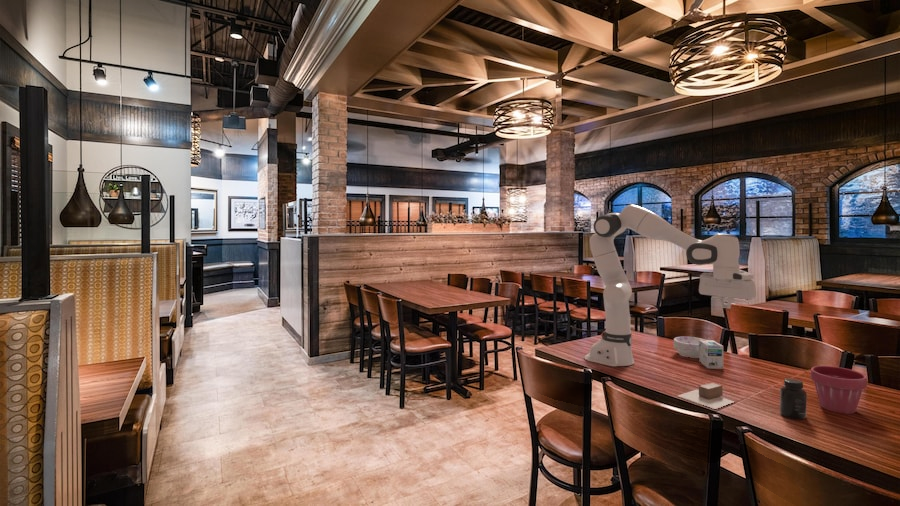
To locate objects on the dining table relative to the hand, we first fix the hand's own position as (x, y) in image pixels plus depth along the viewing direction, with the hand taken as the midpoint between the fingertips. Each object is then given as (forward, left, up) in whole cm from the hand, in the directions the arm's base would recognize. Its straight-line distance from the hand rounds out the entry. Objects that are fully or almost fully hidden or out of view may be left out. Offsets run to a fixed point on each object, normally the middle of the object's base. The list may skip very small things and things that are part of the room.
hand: (725, 308), depth 168 cm
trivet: (-4, -22, -31) cm, 38 cm away
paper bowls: (-18, +36, -31) cm, 51 cm away
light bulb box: (-8, +24, -31) cm, 40 cm away
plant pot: (+33, -5, -31) cm, 46 cm away
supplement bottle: (+21, -21, -31) cm, 43 cm away
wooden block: (-1, -15, -29) cm, 32 cm away
